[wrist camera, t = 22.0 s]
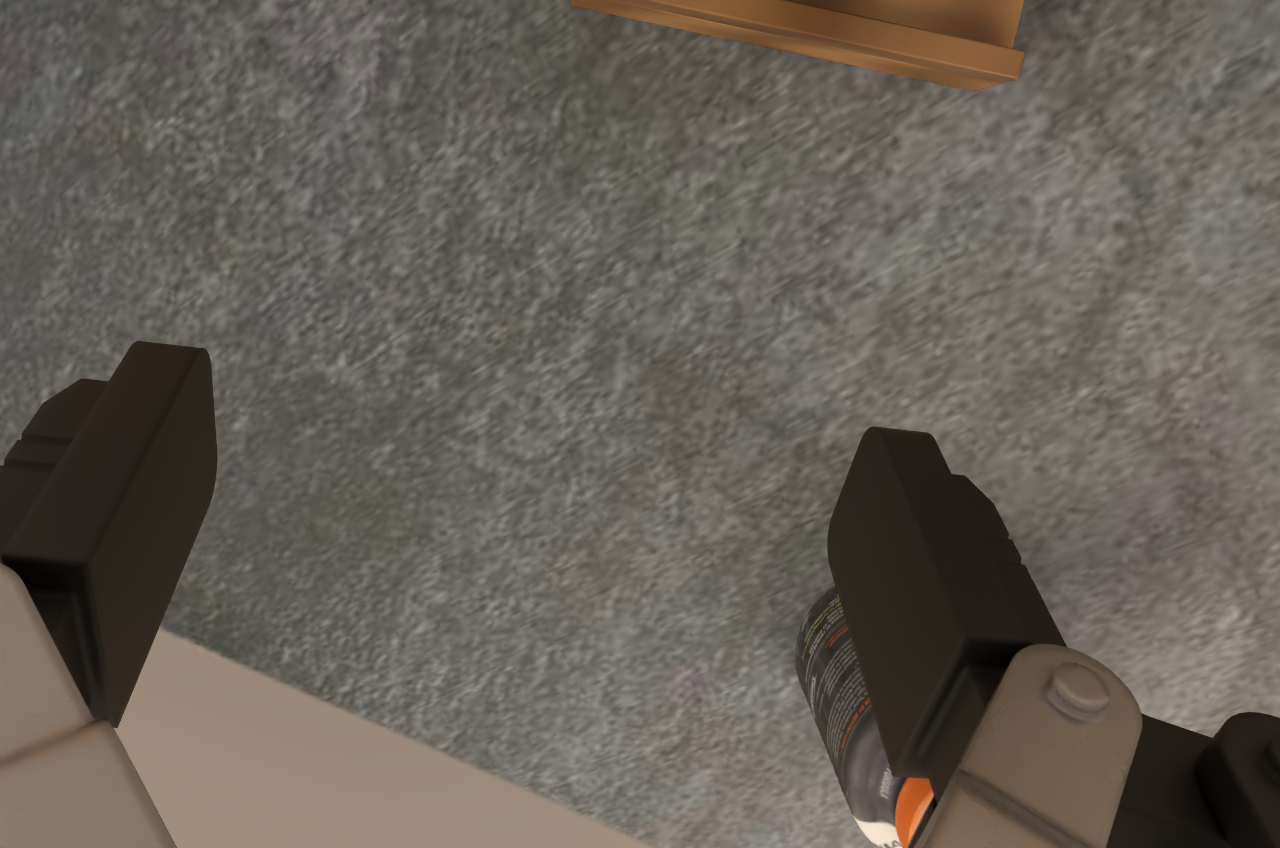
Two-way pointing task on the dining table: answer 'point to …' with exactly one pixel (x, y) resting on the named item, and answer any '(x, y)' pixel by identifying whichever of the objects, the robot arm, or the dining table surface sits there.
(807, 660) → the pill bottle
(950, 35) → the wooden step stand
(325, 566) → the dining table surface
